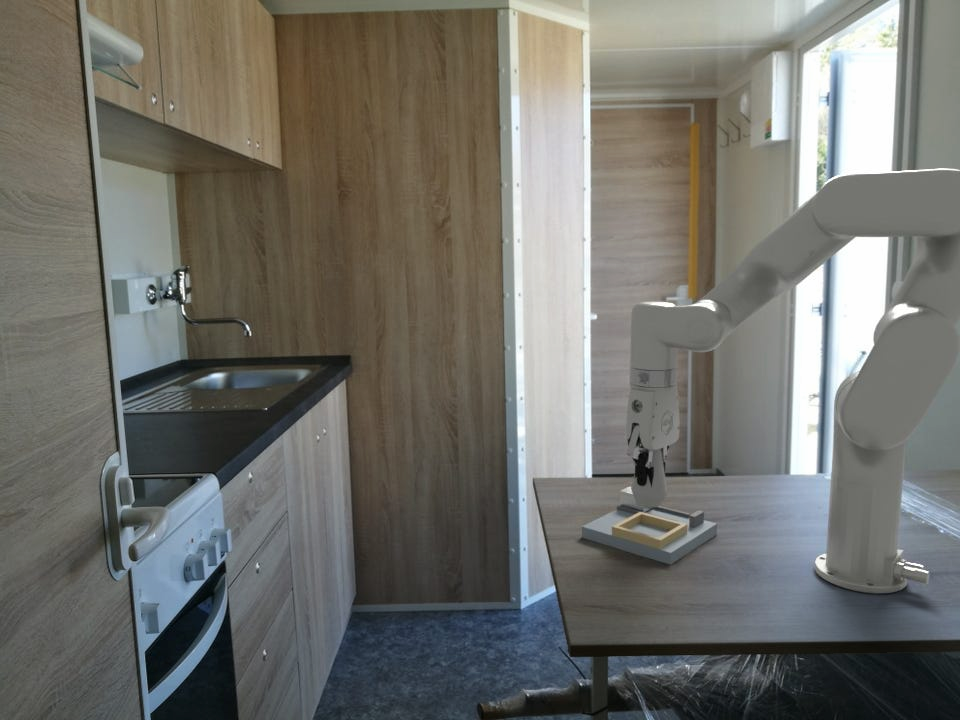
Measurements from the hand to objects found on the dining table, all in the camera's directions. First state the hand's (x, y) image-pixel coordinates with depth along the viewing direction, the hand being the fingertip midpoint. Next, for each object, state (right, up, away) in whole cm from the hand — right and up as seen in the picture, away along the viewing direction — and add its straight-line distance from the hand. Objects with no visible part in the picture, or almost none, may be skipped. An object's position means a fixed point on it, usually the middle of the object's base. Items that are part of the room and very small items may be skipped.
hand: (649, 485), depth 124 cm
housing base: (+1, -10, +5) cm, 11 cm away
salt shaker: (0, -3, +1) cm, 3 cm away
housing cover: (0, -6, +13) cm, 15 cm away
